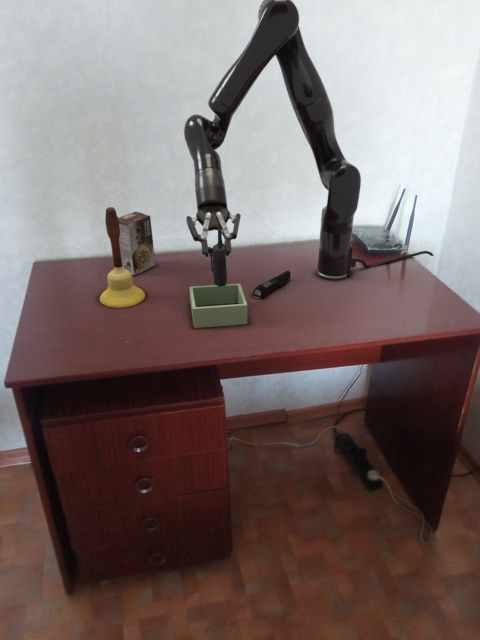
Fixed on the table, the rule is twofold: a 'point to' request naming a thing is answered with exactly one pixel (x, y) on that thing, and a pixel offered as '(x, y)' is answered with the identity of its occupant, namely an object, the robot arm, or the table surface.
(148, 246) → the coffee box
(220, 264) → the two-way radio
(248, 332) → the table surface
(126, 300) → the handbell
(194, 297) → the square frame
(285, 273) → the electric trimmer
